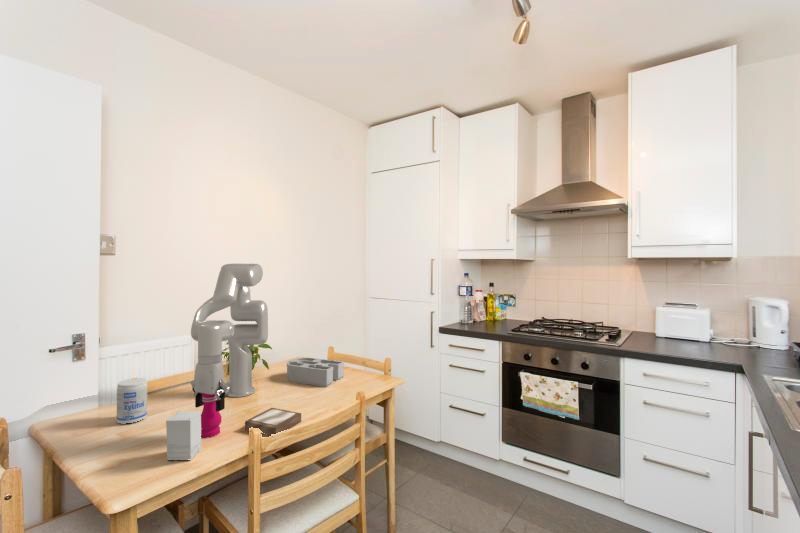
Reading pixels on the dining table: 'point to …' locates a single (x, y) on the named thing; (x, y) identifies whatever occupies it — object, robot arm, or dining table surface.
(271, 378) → the dining table surface
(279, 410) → the base
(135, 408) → the supplement tub
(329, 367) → the grey hollow block
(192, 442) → the supplement box
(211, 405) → the pepper mill
